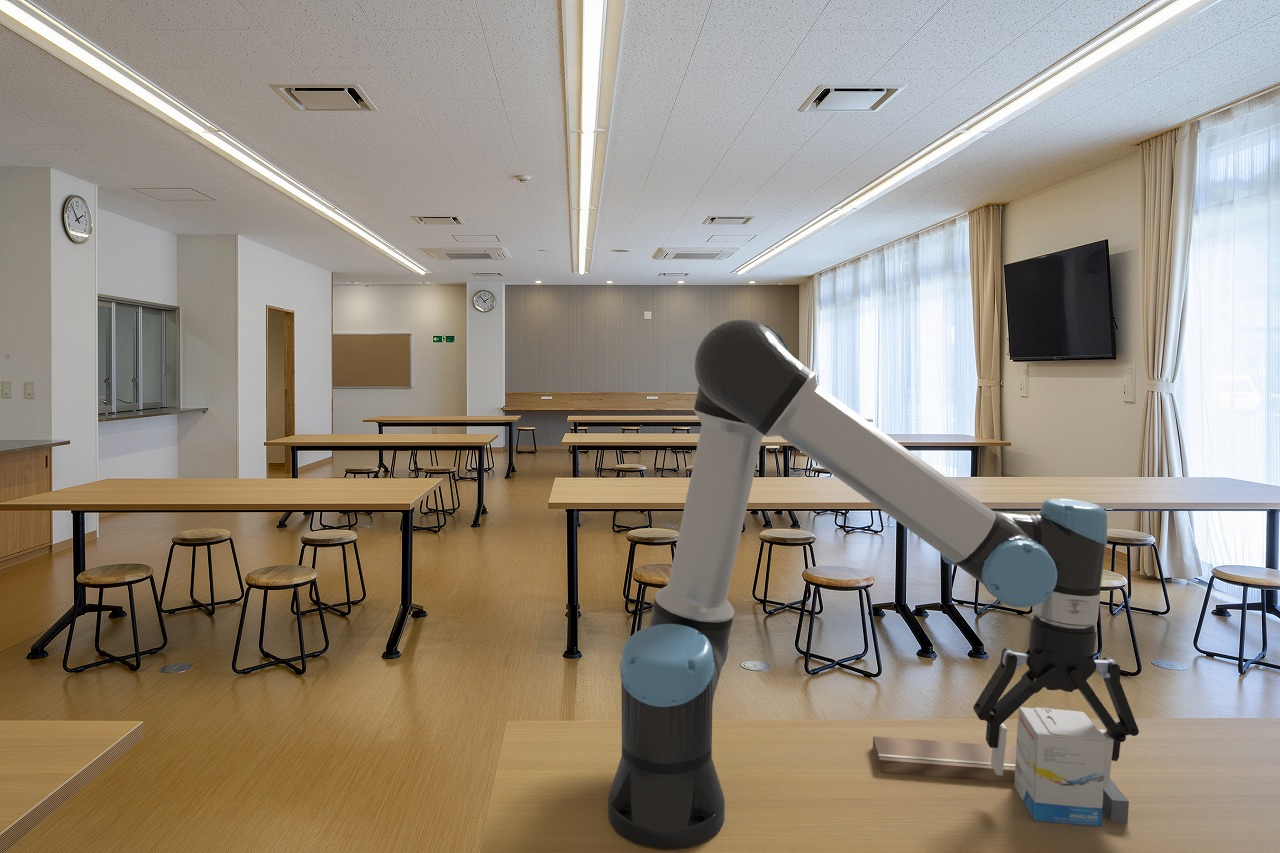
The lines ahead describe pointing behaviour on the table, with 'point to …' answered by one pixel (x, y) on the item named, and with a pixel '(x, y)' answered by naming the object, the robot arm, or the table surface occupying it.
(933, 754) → the board
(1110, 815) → the block
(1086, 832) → the table surface
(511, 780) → the table surface
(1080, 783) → the ink box
